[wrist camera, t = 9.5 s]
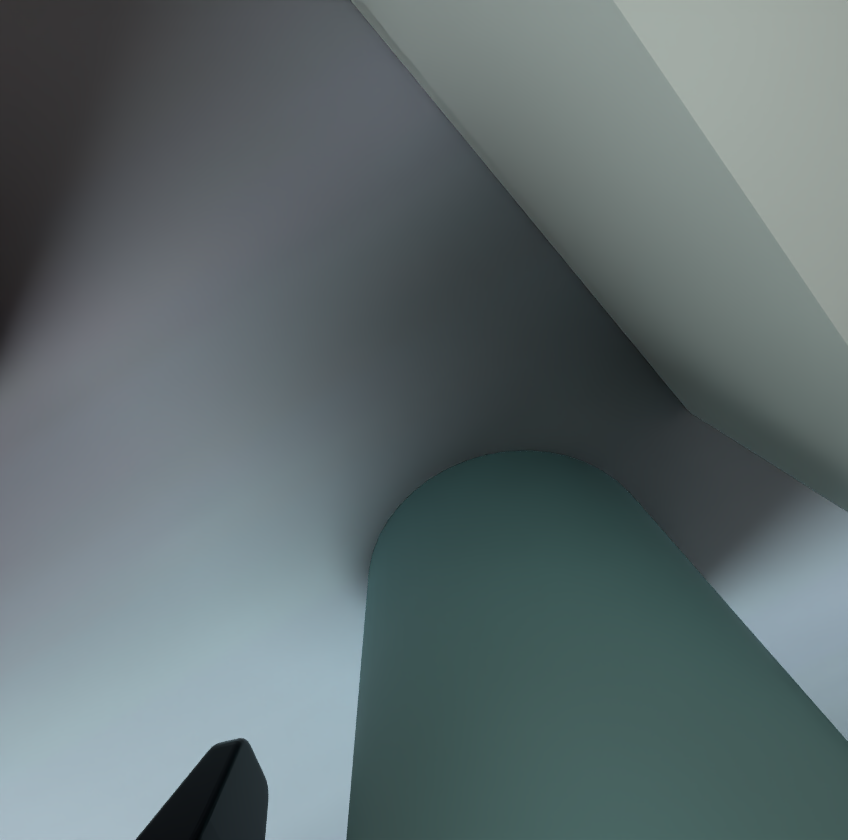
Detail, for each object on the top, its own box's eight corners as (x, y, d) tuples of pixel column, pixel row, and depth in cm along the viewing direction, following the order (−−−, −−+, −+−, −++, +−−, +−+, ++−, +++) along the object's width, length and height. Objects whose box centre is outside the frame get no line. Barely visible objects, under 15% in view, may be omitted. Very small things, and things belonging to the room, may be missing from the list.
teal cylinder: (714, 584, 10) (1386, 1343, 3) (499, 741, 11) (663, 1574, 4) (532, 387, 8) (1035, 978, 2) (306, 586, 9) (86, 1447, 3)
